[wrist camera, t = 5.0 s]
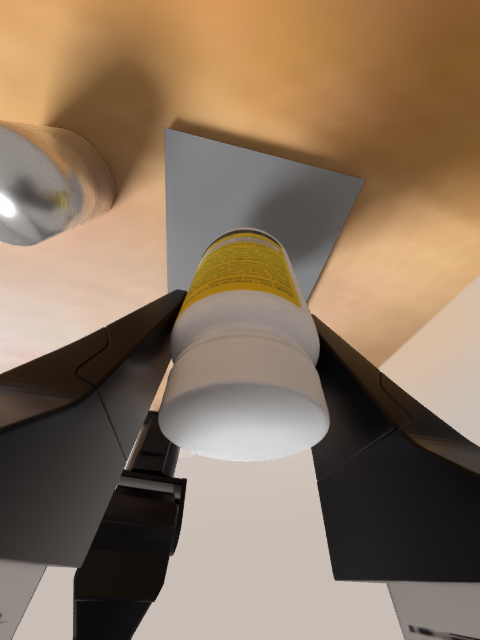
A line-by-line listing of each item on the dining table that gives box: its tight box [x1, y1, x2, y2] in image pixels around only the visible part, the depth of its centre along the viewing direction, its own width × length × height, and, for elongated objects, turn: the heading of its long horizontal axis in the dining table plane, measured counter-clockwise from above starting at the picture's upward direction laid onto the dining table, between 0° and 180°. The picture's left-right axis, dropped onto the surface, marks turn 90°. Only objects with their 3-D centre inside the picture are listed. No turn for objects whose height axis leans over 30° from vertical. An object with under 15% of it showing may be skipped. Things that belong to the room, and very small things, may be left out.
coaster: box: [164, 128, 365, 302], centre depth 13 cm, size 10×10×1 cm
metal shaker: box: [0, 121, 115, 246], centre depth 9 cm, size 4×4×5 cm
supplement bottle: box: [158, 227, 330, 462], centre depth 8 cm, size 5×5×8 cm
